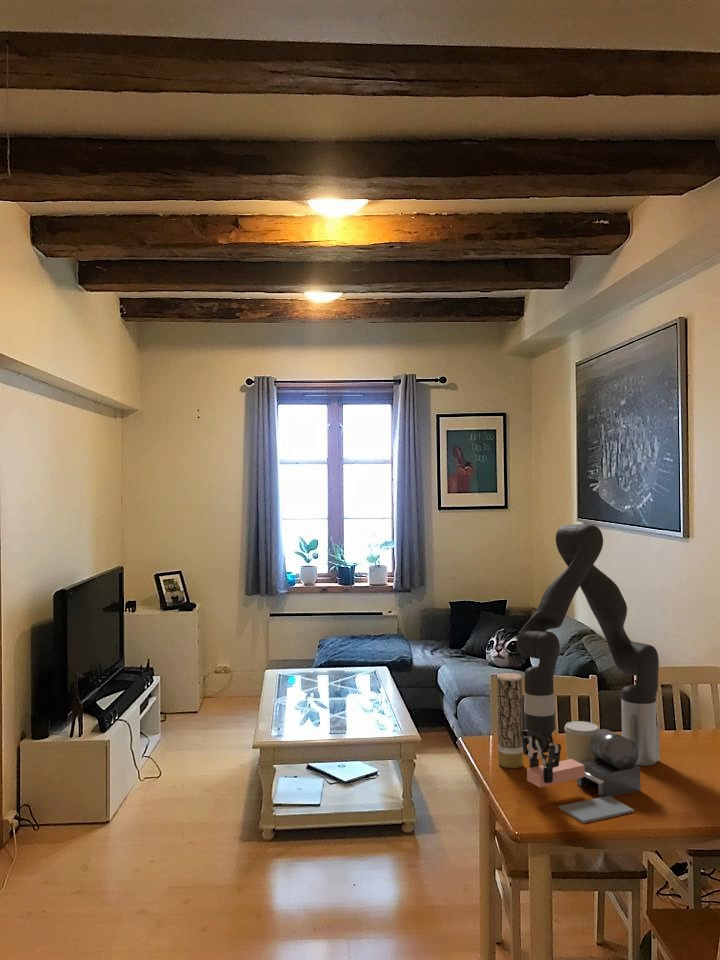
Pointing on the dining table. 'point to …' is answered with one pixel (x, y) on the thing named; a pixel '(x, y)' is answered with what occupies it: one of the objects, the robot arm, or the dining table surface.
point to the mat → (596, 809)
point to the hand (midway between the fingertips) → (541, 778)
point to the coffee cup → (579, 739)
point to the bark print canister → (509, 720)
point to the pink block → (557, 773)
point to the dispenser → (612, 764)
